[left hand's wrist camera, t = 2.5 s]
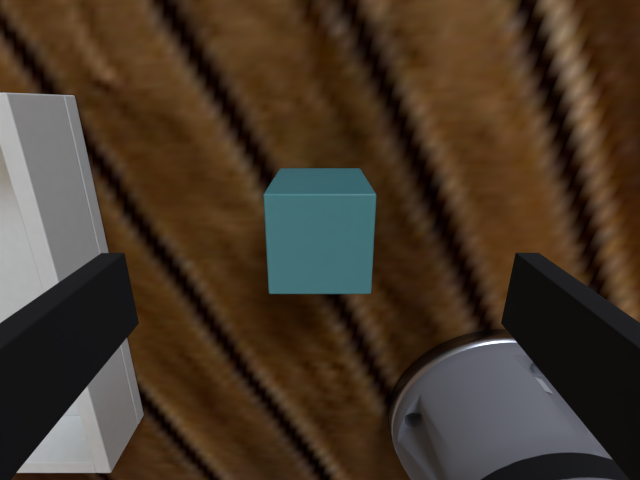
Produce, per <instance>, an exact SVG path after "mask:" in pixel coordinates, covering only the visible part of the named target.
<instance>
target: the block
mask: <svg viewBox="0 0 640 480" xmlns="http://www.w3.org/2000/svg"><path fill="white" fill-rule="evenodd" d="M263 196H264V215H265V233H266V251H267V269H268V288H269V294H370V293H371V284H372V265H373V247H374V229H375V210H376V194H375V192H374V190H373V189H372V187H371V186H370V184H369V182H368V181H367V179H366V178H365V176H364V174H363V173H362V171H361V170H360V169H359V168H281V169H279V171H278V173H277V174H276V176H275V177H274V179H273V180H272V182H271V184H270V185H269V187H268V188H267V190H266V192H265V193H264V195H263Z"/></svg>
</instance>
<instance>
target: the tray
mask: <svg viewBox="0 0 640 480" xmlns="http://www.w3.org/2000/svg"><path fill="white" fill-rule="evenodd" d="M101 253H109V252H108V247H107V243H106V238H105V233H104V229H103V224H102V220H101V215H100V210H99V206H98V201H97V196H96V192H95V187H94V183H93V178H92V173H91V169H90V164H89V159H88V155H87V150H86V146H85V141H84V136H83V132H82V127H81V122H80V118H79V113H78V109H77V104H76V99H75V96H73V95H50V94H25V93H0V323H1V322H2V321H4V320H5V319H7V318H8V317H10V316H11V315H12V314H14V313H15V312H17V311H18V310H20V309H21V308H23V307H24V306H25V305H27V304H28V303H30V302H31V301H33V300H34V299H36V298H37V297H38V296H40V295H41V294H43V293H44V292H46V291H47V290H49V289H50V288H52V287H53V286H54V285H56V284H57V283H59V282H60V281H62V280H63V279H65V278H66V277H67V276H69V275H70V274H72V273H73V272H75V271H76V270H78V269H79V268H80V267H82V266H83V265H85V264H86V263H88V262H89V261H91V260H92V259H93V258H95V257H96V256H98V255H99V254H101ZM143 415H144V414H143V409H142V404H141V400H140V395H139V390H138V386H137V381H136V377H135V372H134V367H133V363H132V358H131V353H130V349H129V344H128V340H127V338H126V339H125V341H124V342H123V343H122V344H121V346H120V347H119V348H118V349H117V350H116V352H115V353H114V354H113V355H112V357H111V358H110V359H109V360H108V361H107V363H106V364H105V365H104V366H103V368H102V369H101V370H100V371H99V372H98V374H97V375H96V376H95V377H94V378H93V380H92V381H91V382H90V383H89V385H88V386H87V387H86V388H85V389H84V391H83V392H82V393H81V394H80V396H79V397H78V398H77V399H76V400H75V402H74V403H73V404H72V405H71V407H70V408H69V409H68V410H67V411H66V413H65V414H64V415H63V416H62V418H61V419H60V420H59V421H58V422H57V424H56V425H55V426H54V427H53V429H52V430H51V431H50V432H49V433H48V435H47V436H46V437H45V438H44V440H43V441H42V442H41V443H40V444H39V446H38V447H37V448H36V449H35V451H34V452H33V453H32V454H31V455H30V457H29V458H28V459H27V460H26V462H25V463H24V464H23V465H22V466H21V468H20V469H19V470H18V471H17V473H96V472H97V473H111V472H112V470H113V468H114V466H115V465H116V463H117V461H118V459H119V458H120V456H121V454H122V452H123V451H124V449H125V447H126V445H127V444H128V442H129V440H130V438H131V437H132V435H133V433H134V431H135V429H136V428H137V426H138V424H139V422H140V421H141V419H142V417H143Z"/></svg>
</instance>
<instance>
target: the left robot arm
mask: <svg viewBox="0 0 640 480" xmlns="http://www.w3.org/2000/svg"><path fill="white" fill-rule="evenodd" d="M138 324H139V322H138V317H137V312H136V308H135V303H134V298H133V293H132V288H131V283H130V278H129V274H128V269H127V264H126V259H125V254H124V253H101V254H99V255H98V256H96V257H95V258H93V259H92V260H91V261H89V262H88V263H86V264H85V265H83V266H82V267H80V268H79V269H78V270H76V271H75V272H73V273H72V274H70V275H69V276H67V277H66V278H65V279H63V280H62V281H60V282H59V283H57V284H56V285H54V286H53V287H52V288H50V289H49V290H47V291H46V292H44V293H43V294H41V295H40V296H38V297H37V298H36V299H34V300H33V301H31V302H30V303H28V304H27V305H25V306H24V307H23V308H21V309H20V310H18V311H17V312H15V313H14V314H12V315H11V316H10V317H8V318H7V319H5V320H4V321H2V322H1V323H0V480H11V479H12V477H13V476H14V475H15V474H16V473H17V471H18V470H19V469H20V468H21V466H22V465H23V464H24V463H25V462H26V460H27V459H28V458H29V457H30V455H31V454H32V453H33V452H34V451H35V449H36V448H37V447H38V446H39V444H40V443H41V442H42V441H43V440H44V438H45V437H46V436H47V435H48V433H49V432H50V431H51V430H52V429H53V427H54V426H55V425H56V424H57V422H58V421H59V420H60V419H61V418H62V416H63V415H64V414H65V413H66V411H67V410H68V409H69V408H70V407H71V405H72V404H73V403H74V402H75V400H76V399H77V398H78V397H79V396H80V394H81V393H82V392H83V391H84V389H85V388H86V387H87V386H88V385H89V383H90V382H91V381H92V380H93V378H94V377H95V376H96V375H97V374H98V372H99V371H100V370H101V369H102V368H103V366H104V365H105V364H106V363H107V361H108V360H109V359H110V358H111V357H112V355H113V354H114V353H115V352H116V350H117V349H118V348H119V347H120V346H121V344H122V343H123V342H124V341H125V339H126V338H127V337H128V336H129V335H130V333H131V332H132V331H133V330H134V328H135V327H136V326H137V325H138ZM501 324H502V325H503V326H504V327H505V328H506V330H487V331H480V332H475V333H470V334H466V335H463V336H460V337H457V338H454V339H452V340H449V341H447V342H445V343H443V344H441V345H439V346H437V347H435V348H434V349H432V350H430V351H429V352H427V353H426V354H425V355H423V356H422V357H421V358H420V359H418V360H417V361H416V362H415V363H414V364H413V365H412V366H411V367H410V368H409V369H408V370H407V371H406V373H405V374H404V375H403V376H402V378H401V379H400V381H399V383H398V384H397V386H396V388H395V390H394V392H393V395H392V398H391V402H390V406H389V426H390V431H391V436H392V440H393V444H394V448H395V451H396V453H397V455H398V458H399V460H400V462H401V464H402V466H403V468H404V469H405V471H406V473H407V474H408V476H409V478H410V479H411V480H640V323H639V322H638V321H636V320H635V319H633V318H632V317H630V316H629V315H628V314H626V313H625V312H623V311H622V310H620V309H619V308H617V307H616V306H615V305H613V304H612V303H610V302H609V301H607V300H606V299H604V298H603V297H602V296H600V295H599V294H597V293H596V292H594V291H593V290H591V289H590V288H588V287H587V286H586V285H584V284H583V283H581V282H580V281H578V280H577V279H575V278H574V277H573V276H571V275H570V274H568V273H567V272H565V271H564V270H562V269H561V268H560V267H558V266H557V265H555V264H554V263H552V262H551V261H549V260H548V259H547V258H545V257H544V256H542V255H541V254H539V253H516V254H515V259H514V264H513V269H512V274H511V278H510V283H509V288H508V293H507V298H506V303H505V308H504V312H503V317H502V322H501Z"/></svg>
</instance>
